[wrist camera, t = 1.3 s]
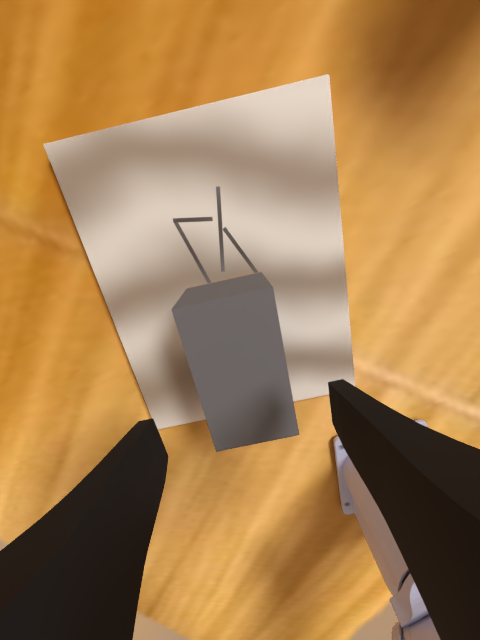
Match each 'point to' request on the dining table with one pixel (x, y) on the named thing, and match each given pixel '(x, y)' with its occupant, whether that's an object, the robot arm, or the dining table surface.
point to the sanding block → (237, 360)
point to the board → (216, 230)
